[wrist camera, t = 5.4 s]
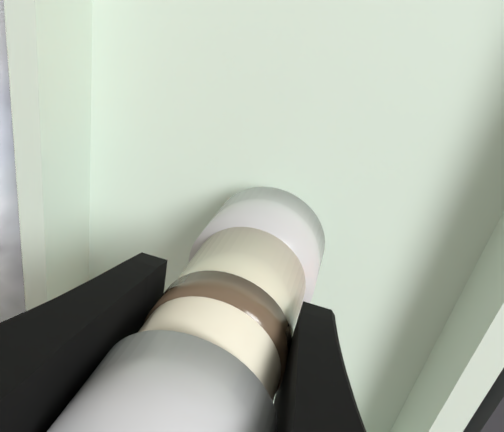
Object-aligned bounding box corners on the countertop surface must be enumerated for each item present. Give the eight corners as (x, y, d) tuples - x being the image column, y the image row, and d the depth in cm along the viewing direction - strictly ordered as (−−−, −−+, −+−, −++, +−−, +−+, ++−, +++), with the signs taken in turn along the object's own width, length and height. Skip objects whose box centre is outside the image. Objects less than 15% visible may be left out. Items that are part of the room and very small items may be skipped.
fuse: (309, 299, 14) (222, 622, 7) (208, 267, 14) (29, 538, 7) (338, 205, 12) (263, 499, 5) (223, 172, 13) (15, 402, 6)
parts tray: (393, 457, 18) (396, 536, 16) (77, 350, 20) (32, 406, 17) (752, -203, 8) (919, -284, 6) (78, -304, 10) (-25, -403, 8)
